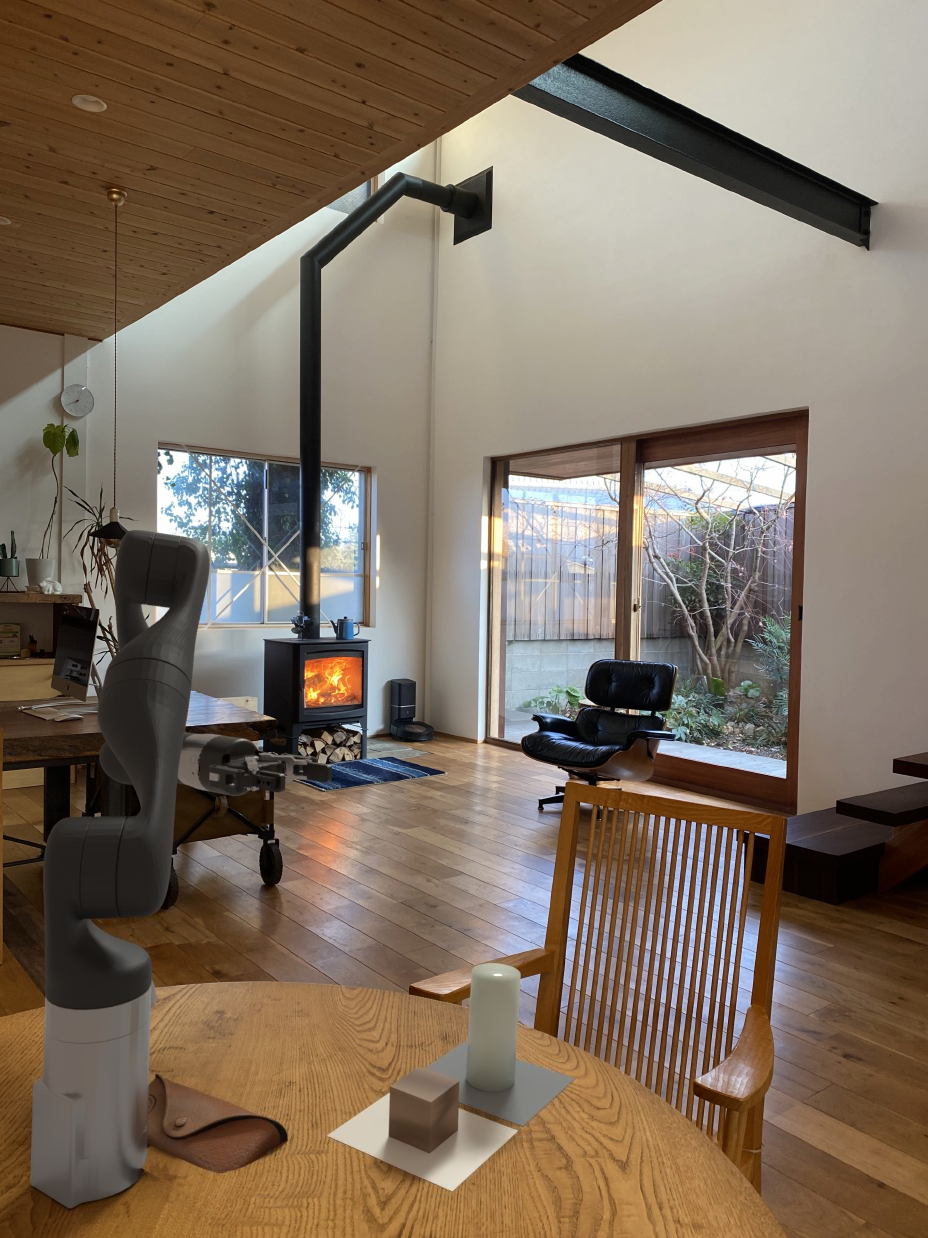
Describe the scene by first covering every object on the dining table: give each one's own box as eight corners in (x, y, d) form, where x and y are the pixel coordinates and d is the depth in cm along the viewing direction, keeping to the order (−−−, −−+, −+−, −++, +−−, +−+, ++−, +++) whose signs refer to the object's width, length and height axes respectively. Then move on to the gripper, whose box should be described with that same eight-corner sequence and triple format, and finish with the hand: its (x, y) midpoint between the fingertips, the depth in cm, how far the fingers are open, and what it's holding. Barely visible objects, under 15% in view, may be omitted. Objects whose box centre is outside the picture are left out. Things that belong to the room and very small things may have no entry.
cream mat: (451, 1202, 84) (452, 1191, 84) (326, 1145, 92) (326, 1135, 92) (517, 1141, 94) (518, 1131, 94) (399, 1094, 102) (399, 1085, 102)
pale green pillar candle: (499, 1097, 100) (506, 987, 100) (456, 1081, 103) (462, 974, 103) (523, 1076, 105) (529, 971, 105) (481, 1062, 108) (486, 959, 107)
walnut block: (429, 1154, 89) (431, 1102, 89) (388, 1136, 92) (389, 1086, 92) (458, 1130, 93) (459, 1081, 93) (417, 1114, 96) (419, 1066, 96)
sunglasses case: (92, 1136, 92) (121, 1065, 95) (139, 1142, 97) (165, 1074, 100) (230, 1196, 84) (257, 1115, 86) (272, 1199, 89) (296, 1123, 92)
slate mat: (522, 1136, 95) (523, 1126, 95) (405, 1090, 103) (405, 1082, 103) (574, 1087, 105) (575, 1078, 105) (464, 1049, 113) (464, 1041, 113)
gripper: (255, 784, 130) (344, 800, 121) (173, 799, 118) (265, 818, 109) (257, 730, 130) (345, 742, 121) (175, 741, 118) (266, 755, 109)
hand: (307, 778), depth 115 cm, fingers open, 8 cm apart
